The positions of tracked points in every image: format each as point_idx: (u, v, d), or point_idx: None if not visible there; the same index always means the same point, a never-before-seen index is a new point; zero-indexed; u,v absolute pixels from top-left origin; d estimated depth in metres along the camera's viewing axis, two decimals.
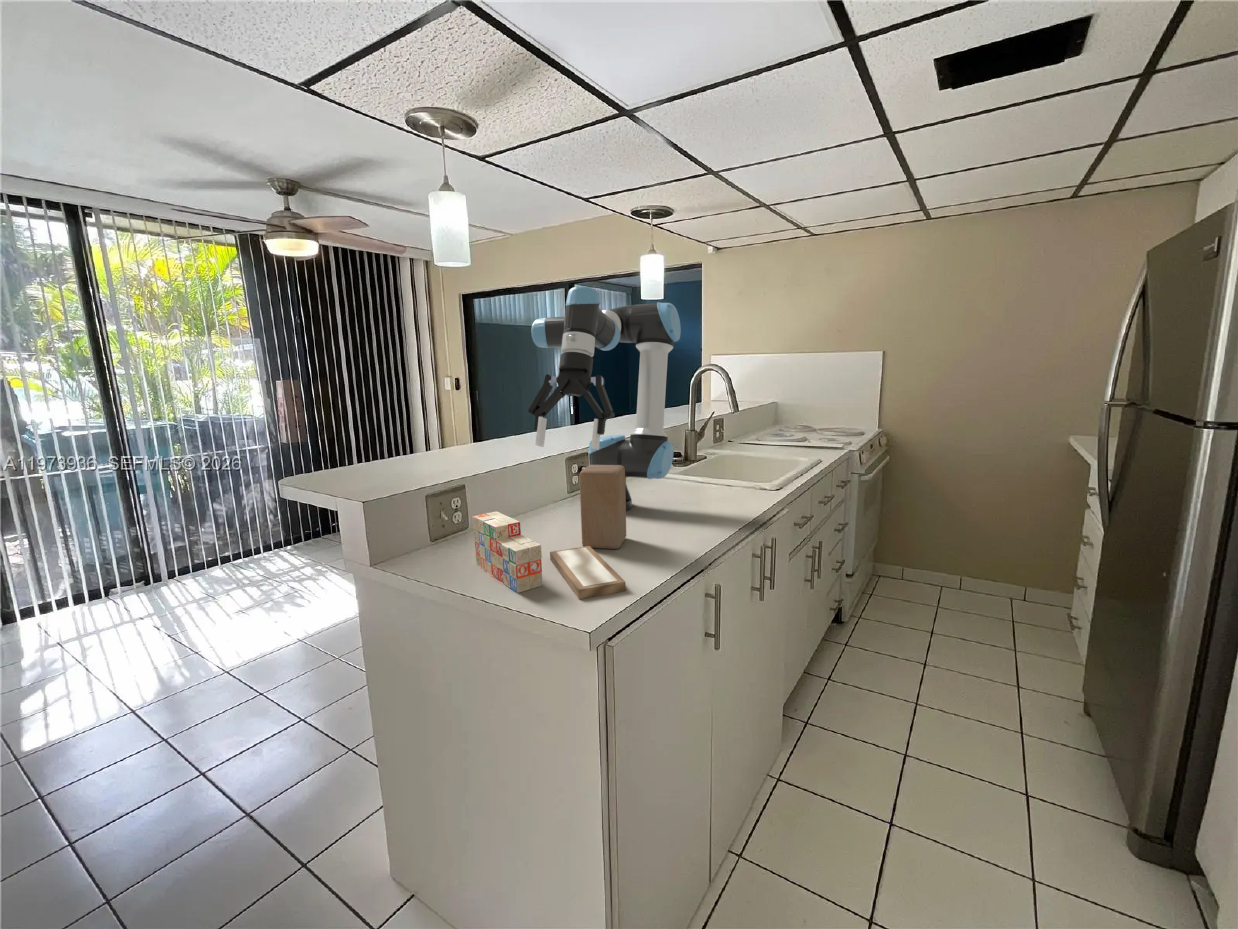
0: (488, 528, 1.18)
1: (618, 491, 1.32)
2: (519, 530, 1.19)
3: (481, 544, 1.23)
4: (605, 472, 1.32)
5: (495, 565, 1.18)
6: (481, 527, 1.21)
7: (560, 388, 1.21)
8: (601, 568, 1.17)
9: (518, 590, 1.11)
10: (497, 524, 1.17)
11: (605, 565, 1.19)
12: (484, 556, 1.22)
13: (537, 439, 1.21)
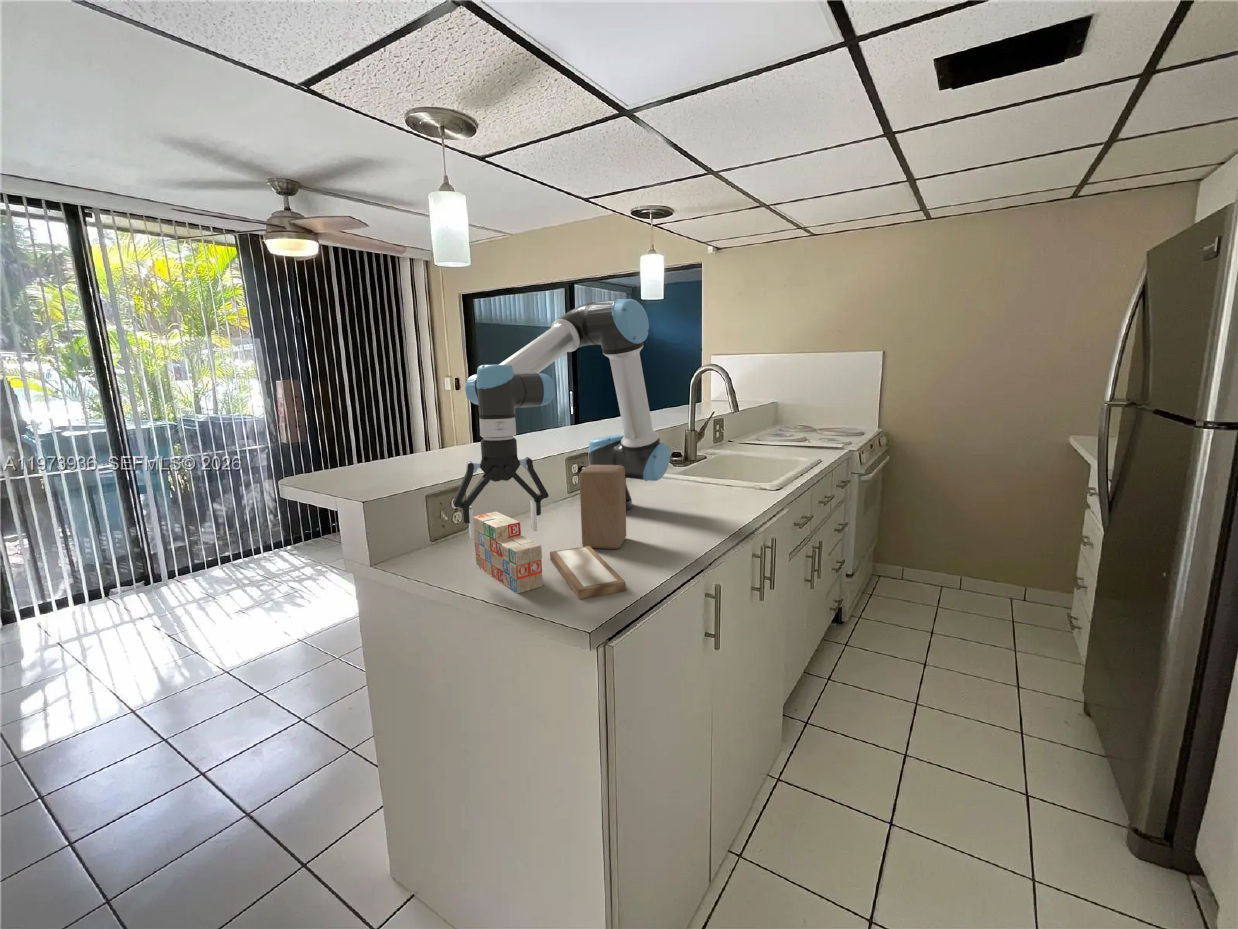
0: (488, 528, 1.18)
1: (618, 491, 1.32)
2: (519, 530, 1.19)
3: (481, 544, 1.22)
4: (605, 472, 1.32)
5: (495, 565, 1.18)
6: (481, 527, 1.21)
7: (490, 477, 1.14)
8: (601, 568, 1.17)
9: (518, 591, 1.10)
10: (497, 525, 1.17)
11: (605, 565, 1.19)
12: (484, 556, 1.22)
13: (472, 533, 1.15)
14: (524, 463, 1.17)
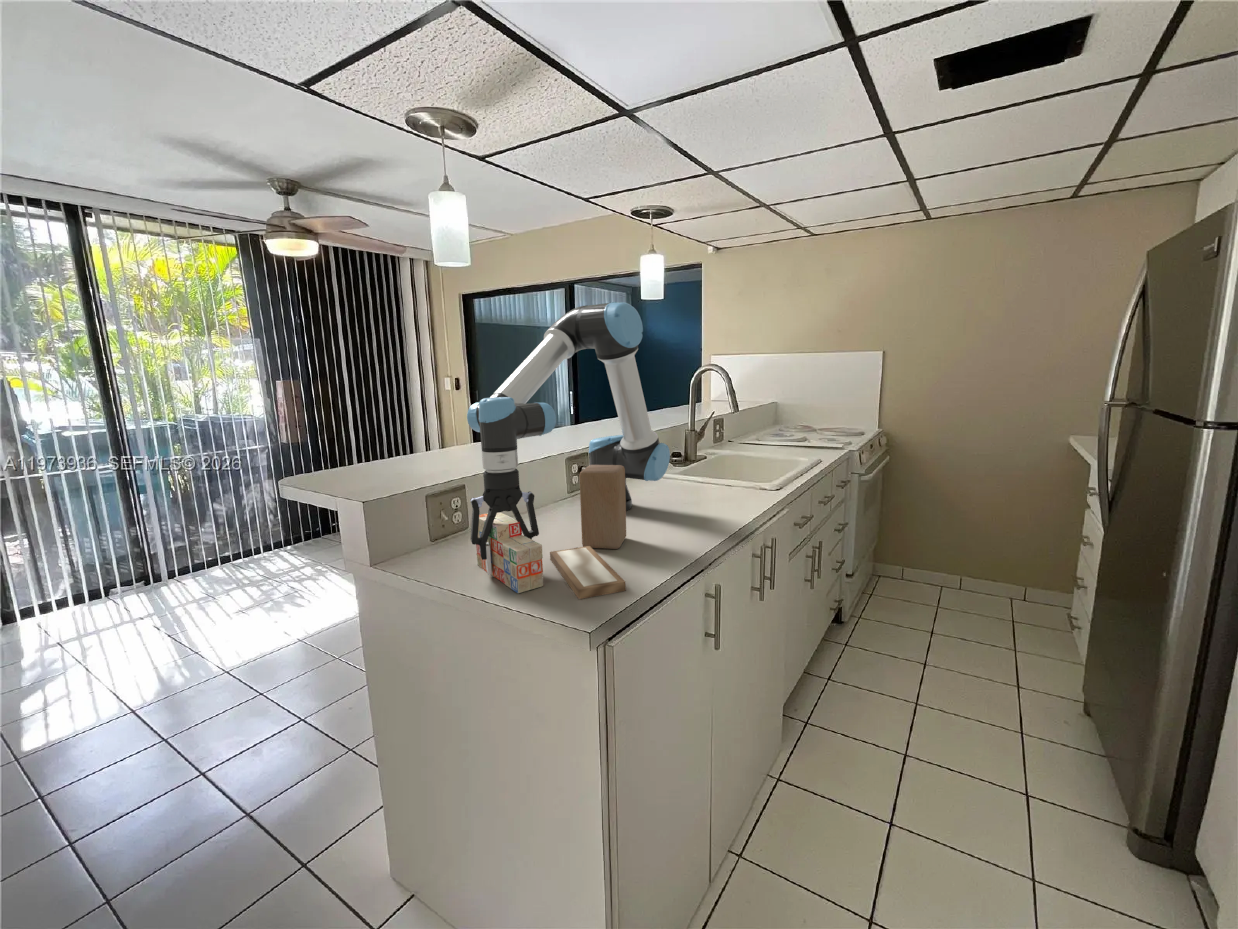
0: None
1: (618, 491, 1.32)
2: (520, 530, 1.19)
3: None
4: (605, 472, 1.32)
5: (496, 565, 1.17)
6: (482, 527, 1.21)
7: (496, 510, 1.16)
8: (601, 568, 1.17)
9: (519, 590, 1.10)
10: (498, 524, 1.17)
11: (605, 565, 1.19)
12: None
13: (489, 569, 1.17)
14: (526, 496, 1.19)
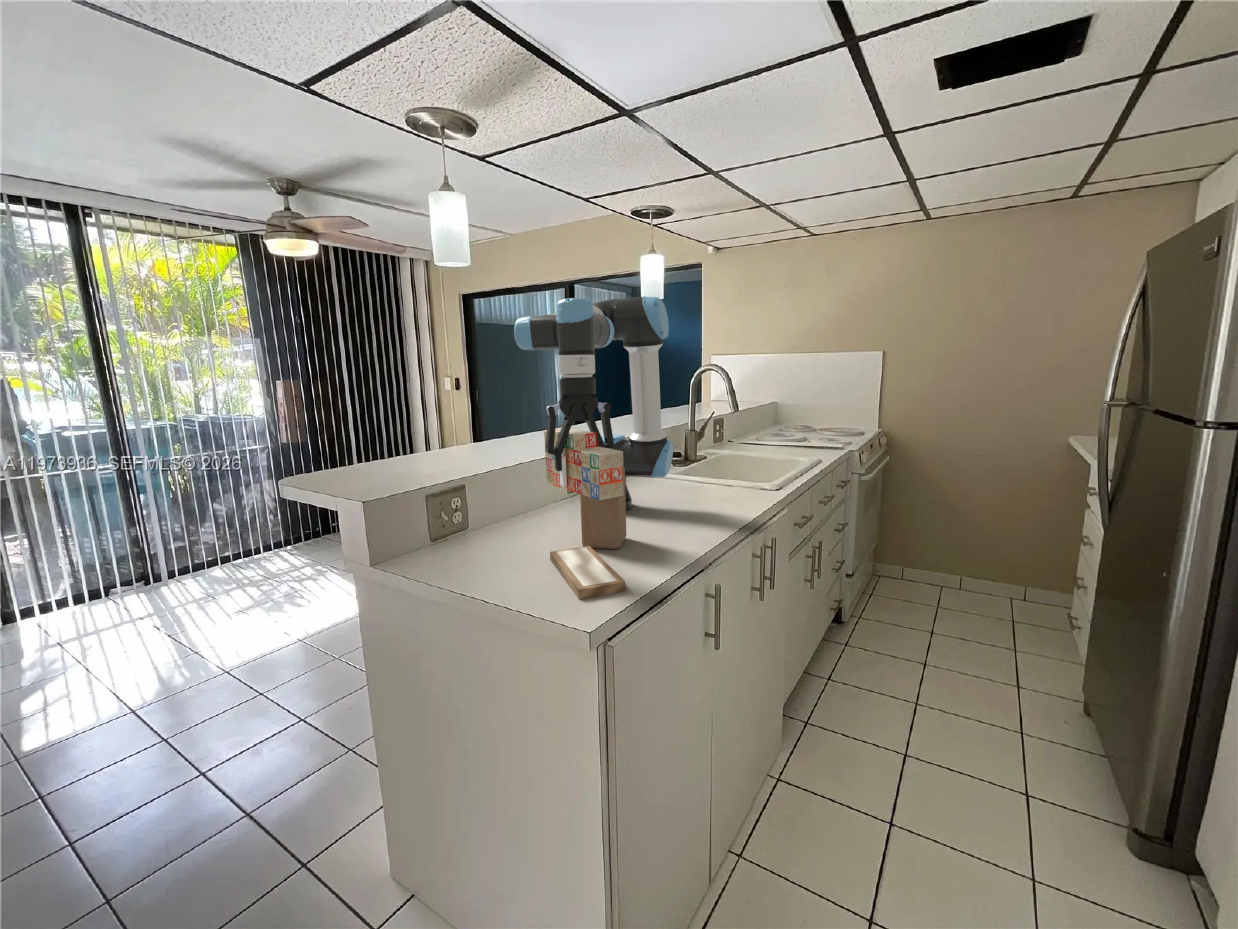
0: None
1: None
2: (596, 441, 1.14)
3: None
4: None
5: (571, 477, 1.13)
6: (555, 440, 1.16)
7: (573, 418, 1.11)
8: (601, 568, 1.17)
9: (600, 497, 1.06)
10: (574, 434, 1.12)
11: (605, 565, 1.19)
12: None
13: (564, 481, 1.13)
14: (601, 406, 1.14)
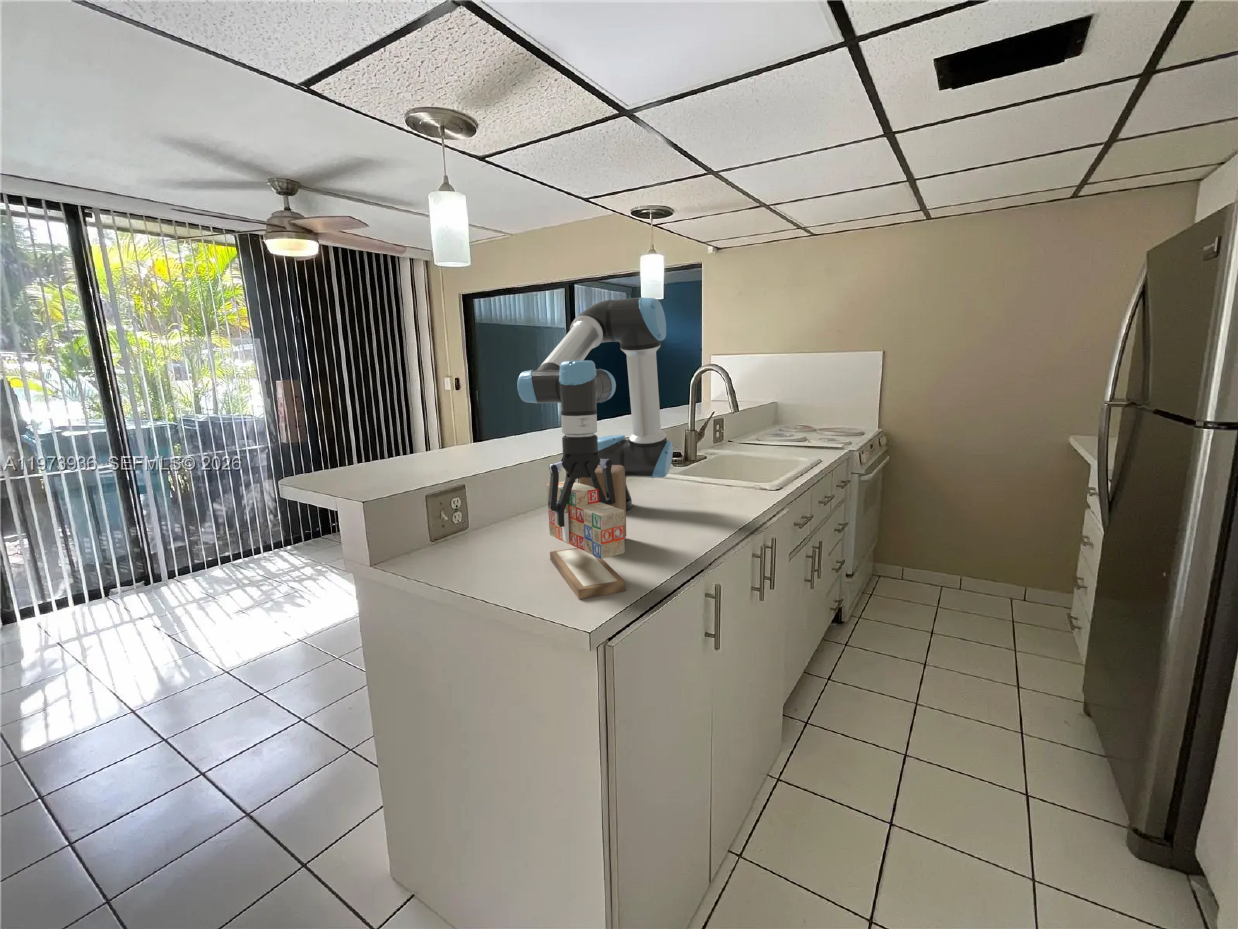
0: None
1: (618, 491, 1.32)
2: (598, 497, 1.16)
3: None
4: None
5: (574, 532, 1.15)
6: (558, 494, 1.19)
7: (575, 475, 1.13)
8: (601, 568, 1.17)
9: (602, 556, 1.08)
10: (577, 491, 1.14)
11: (605, 565, 1.19)
12: None
13: (567, 536, 1.15)
14: (603, 463, 1.16)
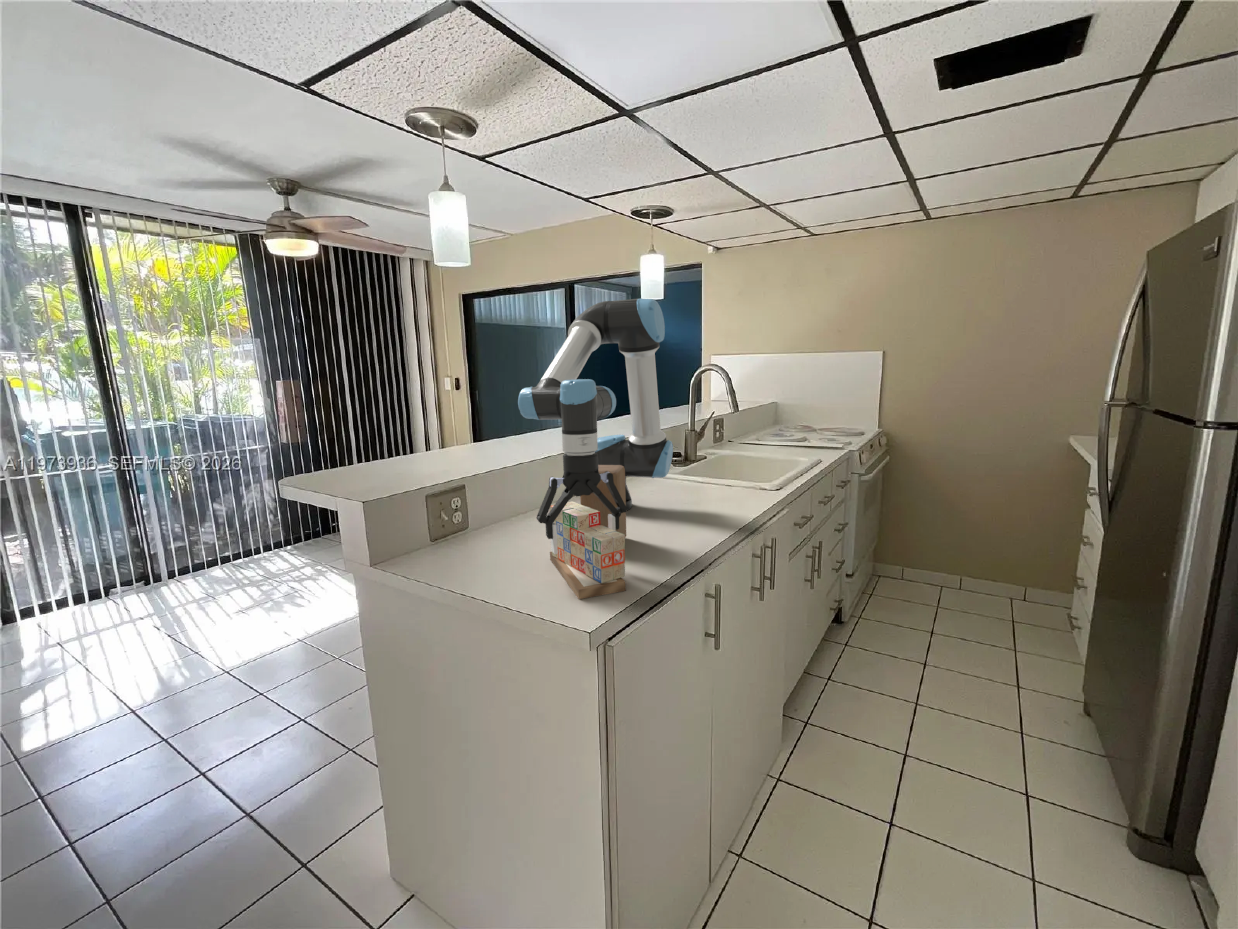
0: (568, 517, 1.17)
1: (618, 491, 1.32)
2: (599, 520, 1.18)
3: (559, 534, 1.21)
4: None
5: (575, 555, 1.16)
6: (560, 517, 1.20)
7: (573, 492, 1.14)
8: None
9: (602, 580, 1.09)
10: (578, 514, 1.16)
11: None
12: (562, 546, 1.21)
13: (555, 548, 1.15)
14: (604, 477, 1.17)
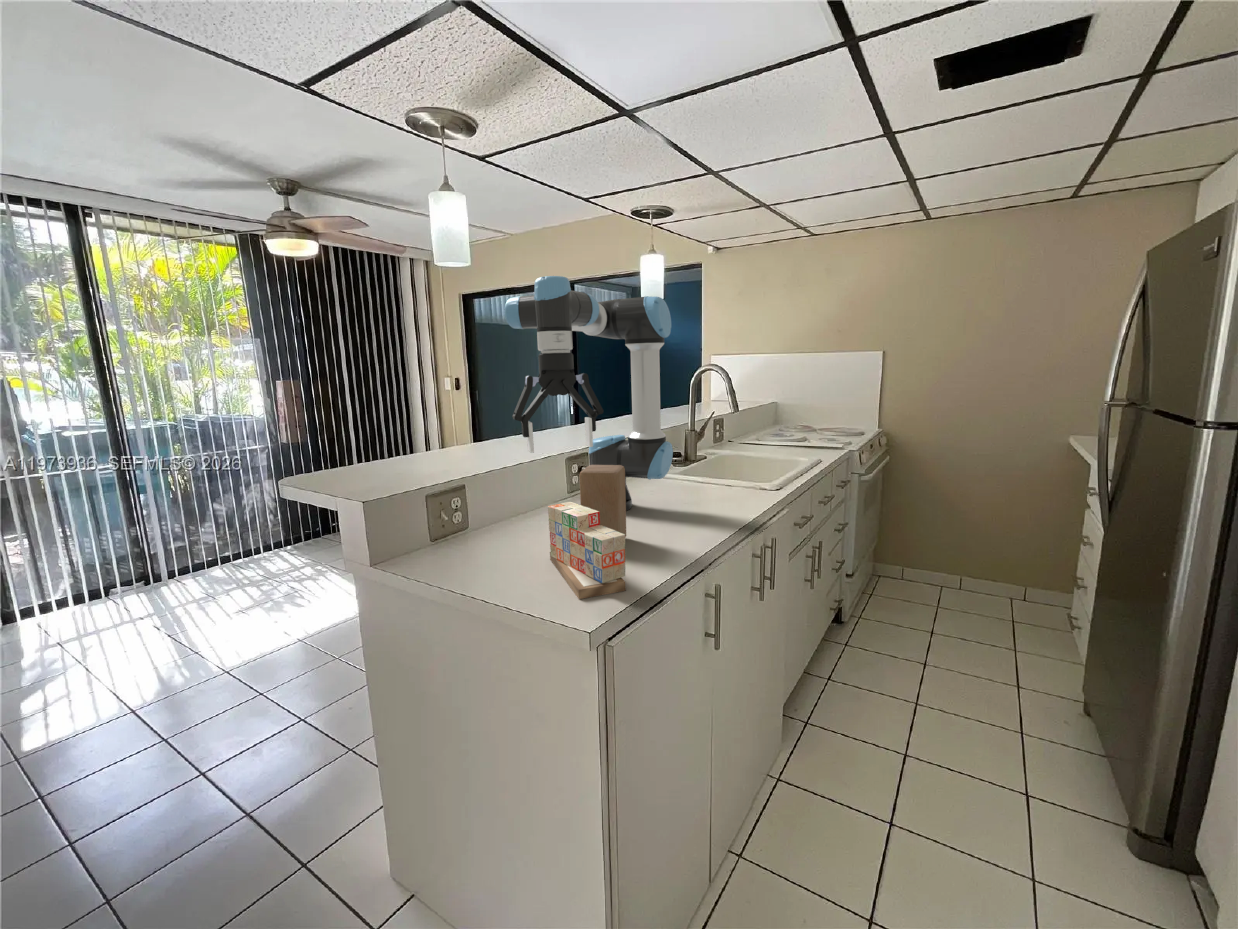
0: (568, 518, 1.17)
1: (618, 491, 1.32)
2: (598, 520, 1.17)
3: (558, 534, 1.21)
4: (605, 472, 1.32)
5: (575, 555, 1.16)
6: (559, 517, 1.20)
7: (549, 391, 1.15)
8: None
9: (603, 580, 1.09)
10: (578, 514, 1.15)
11: None
12: (561, 546, 1.20)
13: (531, 447, 1.16)
14: (580, 378, 1.19)
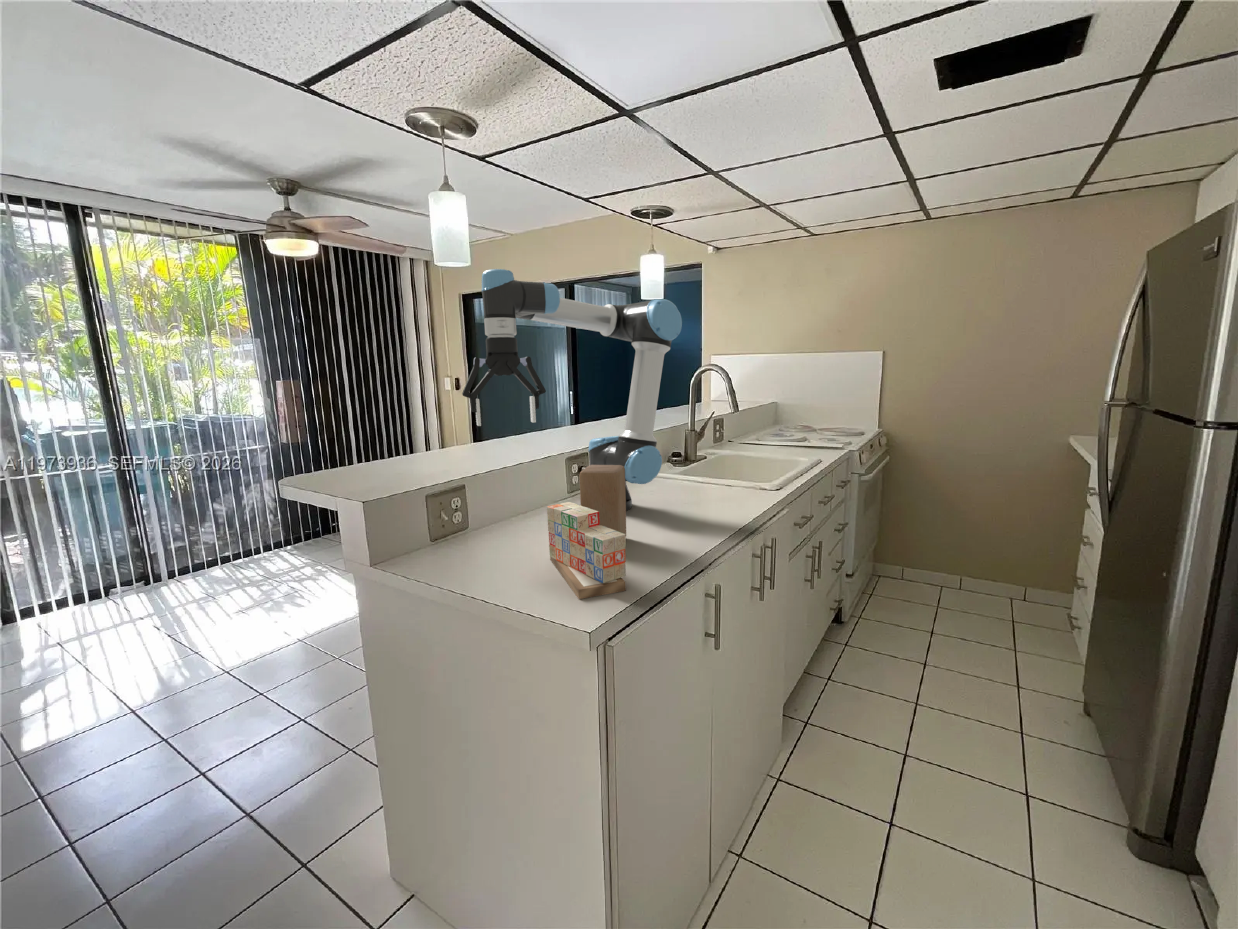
0: (567, 518, 1.17)
1: (618, 491, 1.32)
2: (598, 520, 1.17)
3: (557, 535, 1.21)
4: (605, 472, 1.32)
5: (575, 555, 1.16)
6: (558, 517, 1.19)
7: (494, 371, 1.30)
8: None
9: (604, 580, 1.09)
10: (577, 514, 1.15)
11: None
12: (560, 546, 1.20)
13: (479, 420, 1.31)
14: (524, 361, 1.33)
